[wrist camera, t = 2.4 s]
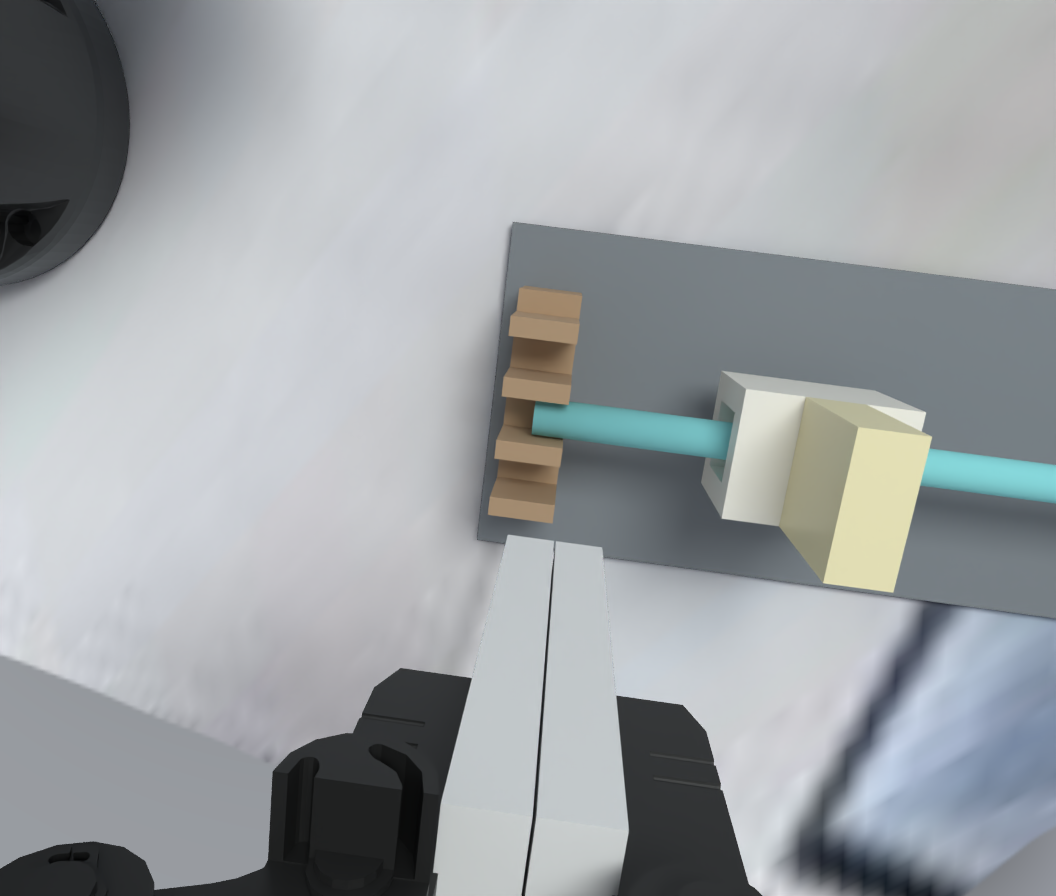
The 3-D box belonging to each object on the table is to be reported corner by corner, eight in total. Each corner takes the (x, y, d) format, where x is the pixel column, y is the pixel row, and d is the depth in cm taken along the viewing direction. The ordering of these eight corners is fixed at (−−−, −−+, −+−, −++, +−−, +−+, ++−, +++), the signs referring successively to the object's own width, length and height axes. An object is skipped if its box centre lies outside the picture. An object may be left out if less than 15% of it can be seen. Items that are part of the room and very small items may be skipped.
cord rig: (478, 535, 36) (454, 602, 29) (514, 222, 33) (497, 211, 26) (1271, 642, 35) (1448, 740, 28) (1388, 331, 32) (1624, 351, 25)
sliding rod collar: (700, 482, 32) (753, 573, 23) (721, 370, 31) (784, 417, 21) (849, 502, 32) (963, 602, 22) (875, 390, 31) (1006, 446, 21)
